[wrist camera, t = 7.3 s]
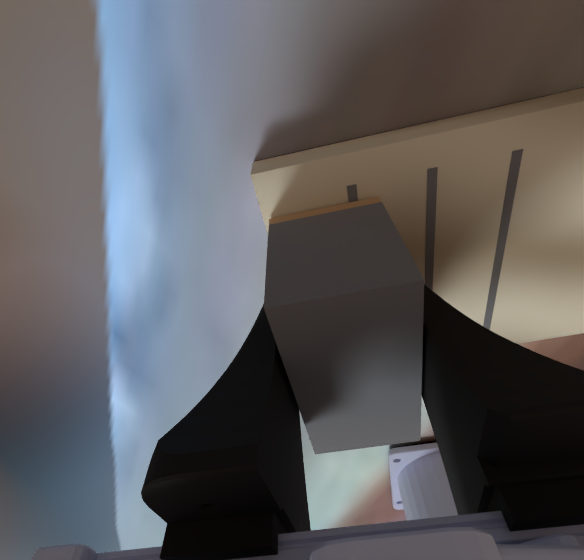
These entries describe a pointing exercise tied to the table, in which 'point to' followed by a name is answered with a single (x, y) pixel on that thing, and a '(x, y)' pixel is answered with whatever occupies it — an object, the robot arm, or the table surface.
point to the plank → (467, 206)
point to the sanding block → (347, 324)
